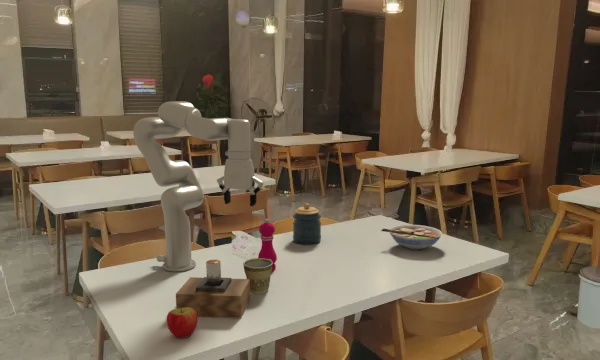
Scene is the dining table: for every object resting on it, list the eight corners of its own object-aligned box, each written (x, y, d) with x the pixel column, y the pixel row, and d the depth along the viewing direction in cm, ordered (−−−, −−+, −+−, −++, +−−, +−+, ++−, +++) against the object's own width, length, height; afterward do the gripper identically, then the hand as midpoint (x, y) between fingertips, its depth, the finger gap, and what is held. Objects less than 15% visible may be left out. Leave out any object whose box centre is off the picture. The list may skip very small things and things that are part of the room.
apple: (161, 339, 136) (159, 305, 135) (179, 326, 144) (177, 293, 142) (186, 344, 133) (185, 309, 132) (203, 331, 141) (202, 297, 140)
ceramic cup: (261, 298, 164) (261, 269, 162) (237, 292, 169) (237, 264, 167) (283, 286, 174) (283, 258, 173) (260, 280, 180) (260, 254, 178)
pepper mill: (274, 273, 187) (273, 221, 184) (255, 271, 189) (254, 220, 185) (278, 266, 194) (278, 217, 191) (261, 265, 195) (260, 216, 192)
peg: (205, 288, 154) (204, 263, 153) (209, 283, 158) (208, 259, 157) (219, 289, 153) (218, 264, 152) (222, 283, 158) (222, 259, 156)
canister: (295, 236, 236) (294, 200, 233) (322, 237, 234) (322, 200, 231) (290, 244, 223) (290, 206, 220) (319, 245, 221) (319, 207, 218)
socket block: (176, 315, 151) (175, 290, 150) (191, 297, 165) (190, 273, 163) (241, 318, 149) (240, 292, 148) (250, 299, 163) (249, 275, 162)
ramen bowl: (450, 245, 221) (451, 227, 219) (434, 259, 202) (435, 240, 200) (397, 237, 234) (397, 220, 233) (377, 249, 215) (378, 231, 214)
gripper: (211, 155, 169) (212, 204, 172) (258, 158, 164) (258, 208, 167) (222, 153, 176) (223, 200, 179) (267, 155, 171) (267, 204, 174)
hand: (240, 204), depth 173 cm, fingers open, 9 cm apart
